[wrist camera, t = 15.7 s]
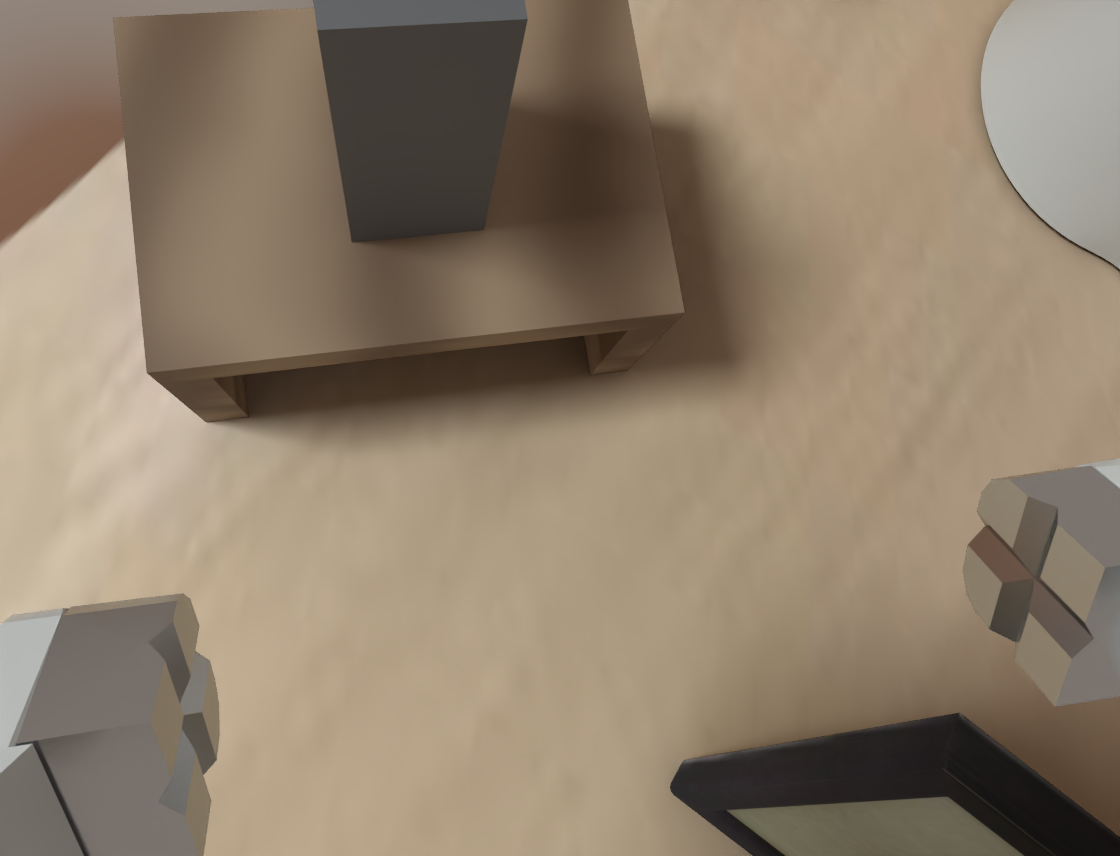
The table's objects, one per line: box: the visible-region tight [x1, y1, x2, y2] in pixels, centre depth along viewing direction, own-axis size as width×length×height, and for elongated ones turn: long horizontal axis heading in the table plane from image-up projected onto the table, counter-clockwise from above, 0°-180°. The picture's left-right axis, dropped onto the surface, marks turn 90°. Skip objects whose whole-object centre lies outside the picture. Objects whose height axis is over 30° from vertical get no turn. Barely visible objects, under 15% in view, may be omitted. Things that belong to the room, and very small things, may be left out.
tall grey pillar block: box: [313, 0, 528, 242], centre depth 24 cm, size 4×5×11 cm
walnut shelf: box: [113, 0, 685, 422], centre depth 33 cm, size 16×11×8 cm
